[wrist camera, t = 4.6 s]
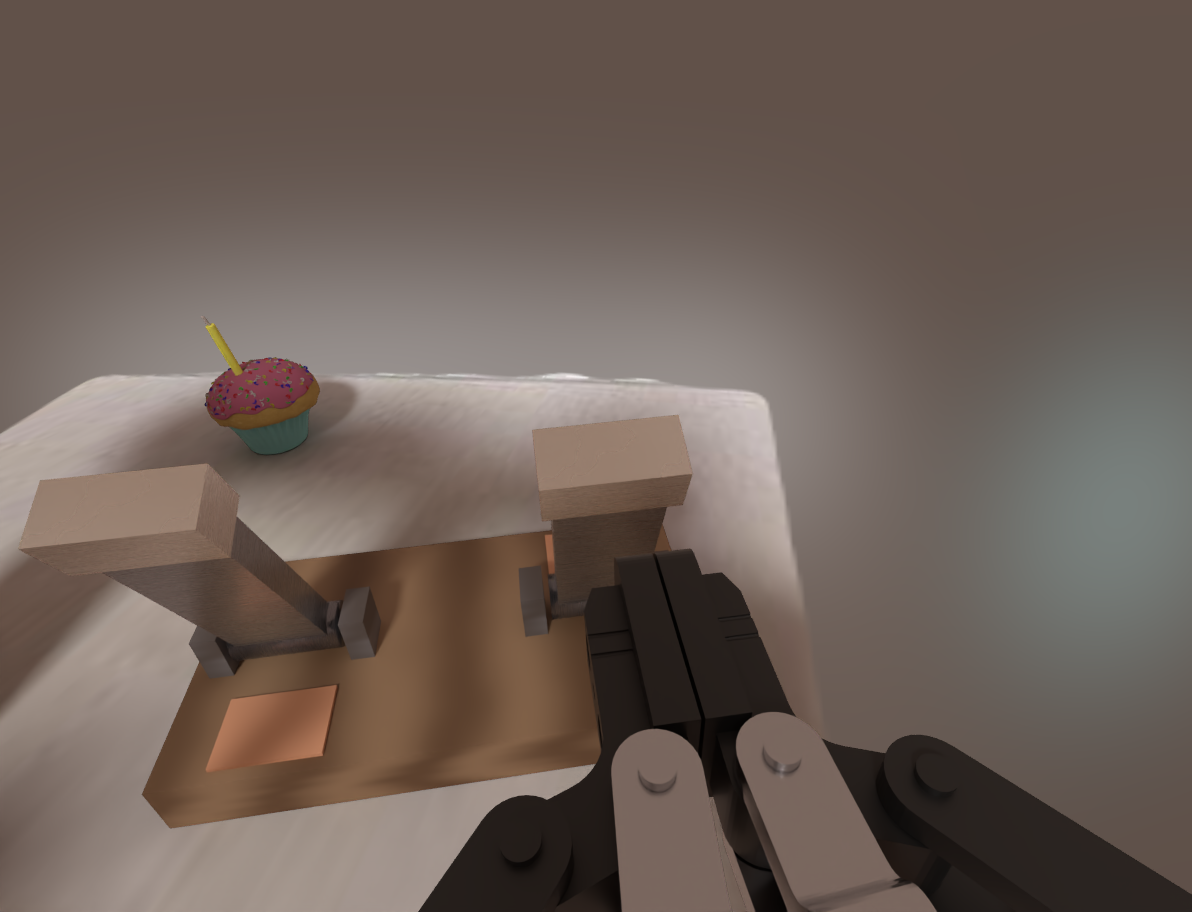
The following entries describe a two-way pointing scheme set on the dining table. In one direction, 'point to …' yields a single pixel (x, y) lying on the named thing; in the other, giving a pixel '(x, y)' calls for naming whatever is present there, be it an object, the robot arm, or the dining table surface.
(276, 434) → the cupcake
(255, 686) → the switch base
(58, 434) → the dining table surface
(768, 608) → the dining table surface
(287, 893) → the dining table surface
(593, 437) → the outer lever
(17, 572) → the dining table surface
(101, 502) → the inner lever
